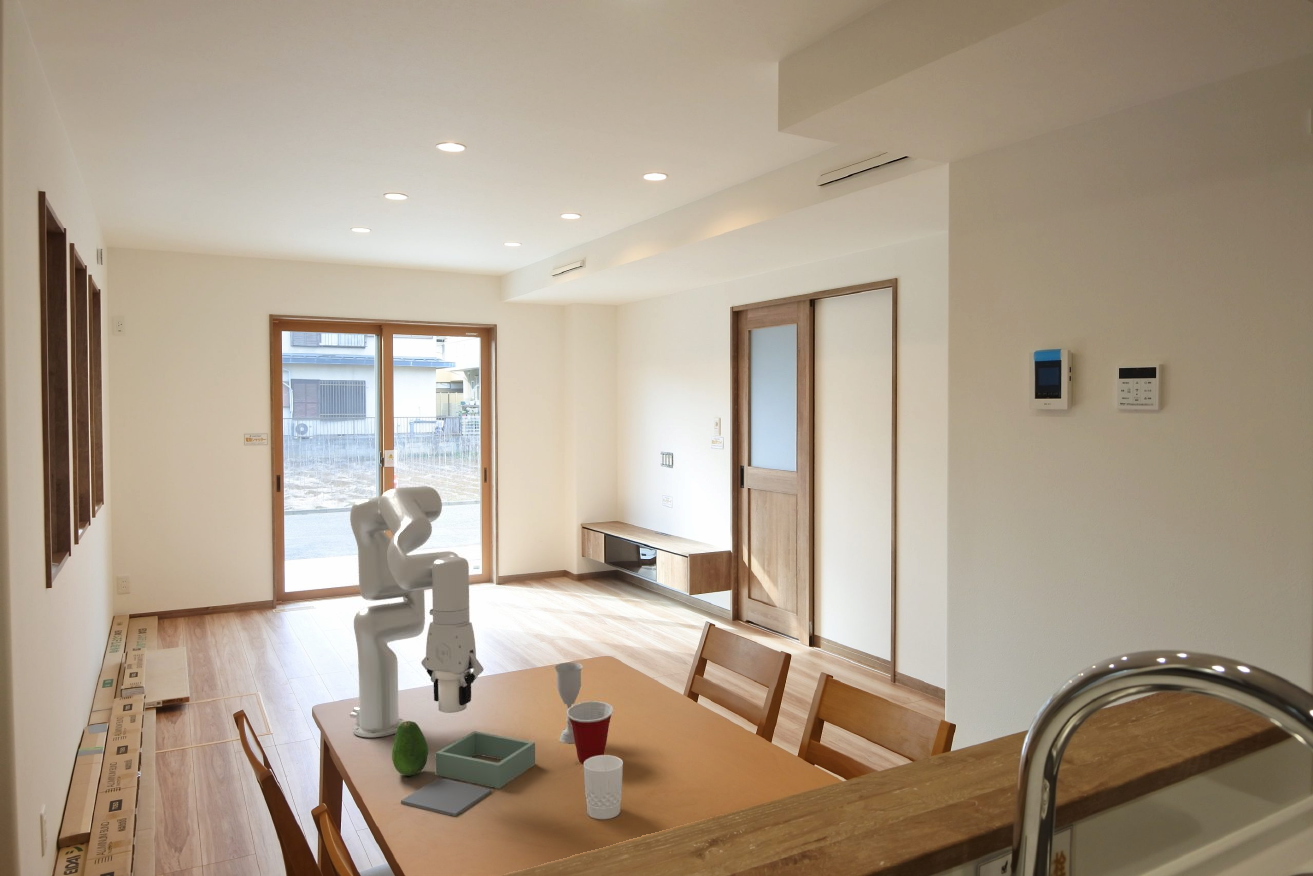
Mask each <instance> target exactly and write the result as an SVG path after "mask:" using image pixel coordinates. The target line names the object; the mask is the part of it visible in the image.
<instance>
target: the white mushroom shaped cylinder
mask: <svg viewBox="0 0 1313 876" xmlns="http://www.w3.org/2000/svg"><path fill="white" fill-rule="evenodd" d="M467 669H468V668H467ZM464 674H465V677H466V678H467V676H468V672H466V673H464ZM435 678H437V679H438V701H437V703H438V711H439V712H440V713H445V714H451V713H453V714H454V713H460V712H462V711H464V710H467V708H468V705H467V704H468V703H467V704H465V705H463V706H462V705H460V704H459V687H460V686H462V685H461V682H460V679H461V674H454V673H451V672H444V671H437V670H435Z"/></svg>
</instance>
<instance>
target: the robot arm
mask: <svg viewBox="0 0 1313 876" xmlns="http://www.w3.org/2000/svg"><path fill="white" fill-rule="evenodd" d="M442 509H443V503H442V498H441V496H440V494H439V493H438V491H437V490H436V489H435V488H433V487H432V486H423V485H422V486H412V487H411V486H406V487H395V488H391V489H388V490H387V491H384V493H382V494H381V496H375V497H367V498H363V499H360V500H358V501H356V502H354V504H353V505H352V507H351V509H350V512H349V513H350V515H349V516H350V518H349V520H350V521H349V523H350V526H351V529H352V533H353V536H354V538H355V540H356V546H357V555H358V556H357V558H358V560H357V561H358V563H357V564H358V586H359V592H360V595H361V597H362V599H364V600H366V601H371V602H372V601H374V602H375V601H376V602H377V601H385V600H390V599H391V600H392V599H399V598H402V599H403V601H399V602H393V603H392V602H391V603H383V604H376V605H371V606H367V607H364V608H362V609H360V610H359V611H358V612H357V613H356V614H355V616H354V618H353V629H354V635H355V640H356V646H357V647H356V649H357V656H358V657H357V659H358V660H357V663H358V697H359V698H358V700H359V703H358V704H359V705H358V706H356V707H354V708H353V709H352V712H350V714H349V717H350V718H352V719H356V723H355V724H354V725H353V727H352V733H353V734H354V735H355V736H359V737H361V738H380V737H388V736H391V735H394V734H396V731H397V728H398V726H399V725H400V724H401V723H403V722H406V721H405V719H404V718H402V717H400V716H399V665H398V664H399V661H398V657H397V655H396V653H395V652H394V651H393V650H392V649H391V648H390V647H389V646H388V643H392V642H395V641H401V640H406V639H412V638H416V637H419V636H420V635H422V634H423V632H424V631H425V624H426V609H425V608H426V607H425V606H426V605H425V590H426V589H432V591H431V592H432V595H431V596H432V608H431V609H430V610H429V612H428V613H429V615H430V616H432V622H429V626H428V629H427V636H426V646H425V647H426V649H425V657H424V658H423V659H422V660H421V661H420V662H421V665H422V667H423V668H424V669H425V670H426V673H427V674H428V675H429V677H430V681H431V683H433V700H434V702H438V679H437V678H435V670H437V671H444V672H451V673H454V674H461V679H460V682H461V685H462V686H460V687H459V704H460V705H462V706H463V705H465V704H469V703H470V702H471V701H472V684H473V683H474V681H475V680H476V679H477V678H478V677H479V676H480V675H481V674H482V672H484V666H483V665H482V664H481V662H480V661H479V660H478V658H477V650H476V649H477V648H476V638H475V633H474V628H473V622H470V567H469V566H470V565H469V562H468V560H467V559H466V558H464V557H462V556H459V555H458V554H457V553H456V552H454V551H450V550H449V551H446V550H445V551H438V552H428V553H417V554H416V553H415V554H410V553H411V552H413V551H416V550H417V549H418V548H421V547H422V546H423V545H425V544H426V543H427V542H428V540H429V539H430V537H431V535H432V532H433V527H432V523H433V522H434V521H436V520H437V519H438V518H439V517H440V516H441V513H442V511H443V510H442ZM385 531H386V532H385ZM387 531H390V532H391V533H392V538H391V537H389V535H388V534H387ZM467 668H468V669H467ZM472 670H473V671H472ZM466 672H468V676H467V677H465V674H464V673H466Z"/></svg>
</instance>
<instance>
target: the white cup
mask: <svg viewBox="0 0 1313 876" xmlns="http://www.w3.org/2000/svg"><path fill="white" fill-rule="evenodd" d="M623 768H624V762H623V760H622V759H621V758H619V757H618V756H615V755H609V754H608V755H607V754H604V755H599V756H594V757H591V758H588V759H587V760H585V762H584V764H583V773H584V774H583V775H584V776H583V777H584V793H585V801H586V814H587V815H588V816H589V817H590V818H593V819H595V820H609V819H613V818H615V817H617V816H618V815H619V814H620V813H621V804H622V803H621V802H622V801H621V800H622V794H623V793H622V792H623V770H624V769H623Z"/></svg>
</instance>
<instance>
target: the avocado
mask: <svg viewBox="0 0 1313 876" xmlns="http://www.w3.org/2000/svg"><path fill="white" fill-rule="evenodd" d="M391 750H392V751H391V760H392V764H393V767H394V768H395V770H396V771H397V772H398V773H399V774H401V775H403V776H410V777H411V776H414V775H417V774H419V773H420V772H422V771H423V770H424V769H425V767H426V766H427V762H428V757H429V745H428V743H427V740H426V738H425V736H424V734H423V732H422V729H421V728H420V726H419V724H417V723H416V722H414V721H411V720H407V721H405V722H403V723H401V724H400V725H399V726H398V728H397V731H396V733H395V735H394V741H393V743H392V749H391Z"/></svg>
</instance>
